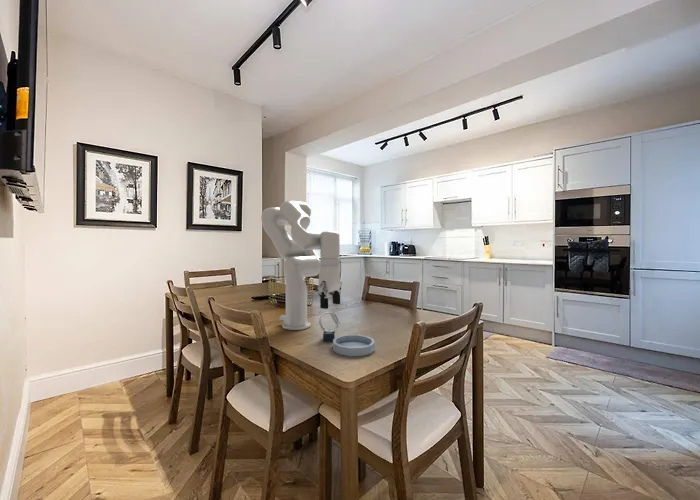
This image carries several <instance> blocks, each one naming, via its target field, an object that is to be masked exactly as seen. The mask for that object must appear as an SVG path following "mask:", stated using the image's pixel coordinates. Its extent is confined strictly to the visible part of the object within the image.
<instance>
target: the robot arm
mask: <svg viewBox="0 0 700 500" xmlns="http://www.w3.org/2000/svg"><path fill="white" fill-rule="evenodd" d="M311 214H312V209H311V206H310V205H309V204H308V203H307V202H304V201H298V200H297V201H296V200H286V201H283V202H282V203H281V204H280V205H279V207H277V206H275V207H274V206H273V207H272V206H271V207H267V208H265V209H264V210H262V212H261V225H262V228H263V230H264V232H265V233H266V234H267V237H269V239H270V240H271V241H272V244H273V246H274V247H275V250H276V251H277V254H278V255H279V256H280V258H281V259H283V260H284V262H283V273H284V281H285V314H282V315H280V316H279V318H278V319H279V321H283V323H282V325H281V326H282V329H284V330H287V331H288V330H289V331H302V330H306V329H309V328H310V327H311V322H310V321H308V285H307V284H306V282H305V280H304V278H309V277H315V276H318V286H317V292H318V293H317V294H318V296H319V298H320V299H319V302H320V304H319V307H320V309H323V310H328V309H329V298H328V296H329V294H330V293H332V304H333V305H341V292H342V291H341V290H342V285H343V283H342V281H341V271H340V266H341V265H340V263H341V262H340V258H341V257H340V250H341V249H340V248H341V247H340V234H339V232H338V231H336V230H335V231H334V230H327V231H322V230H321V231H320V230H307V229H308V227H309V226H310V223H311V218H310V217H311V216H312V215H311ZM282 226H291V229H290V233H289V232H288V231H287V229H285V228H284V227H282ZM290 235H291V236H290ZM316 250H317V251H318V250H319V252H320V253H319V254H320V256H319V255H317V253H316V252H315V251H316ZM319 257H320V258H319Z"/></svg>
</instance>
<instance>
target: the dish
mask: <svg viewBox="0 0 700 500" xmlns="http://www.w3.org/2000/svg"><path fill="white" fill-rule="evenodd" d="M375 350H376V341H375V339H374V338H373V337H370V336H367V335H363V334H343V335H340V336H337V337H336V336H335V339H333V342H332V351H333V352H335V353H336V354H338V355H342V356H345V357H362V356H363V357H364V356H366V355H370V354H372V353H374V352H375Z"/></svg>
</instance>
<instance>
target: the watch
mask: <svg viewBox="0 0 700 500" xmlns="http://www.w3.org/2000/svg"><path fill="white" fill-rule="evenodd" d="M327 314H329V315H330V317H331V319H332V321H333V323H335V325H336V327H335V328H334V329H327V328H326V327H325V326H324V324H323V322H322V317H323V316H324V315H327ZM318 323H319V326H320V328H321V330H322V331H323V334H322V341H323V343H326V342H327V343H333V339H335V338H336V336H335V335H336V334H335V333H336V331H337V330H338V327H339V324H340V320H339V318H338V316H337V314H336V313H335V311H334V312H333V311H328V310H327V311H324V312H323V313H322V314H320V317H319V321H318Z"/></svg>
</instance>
